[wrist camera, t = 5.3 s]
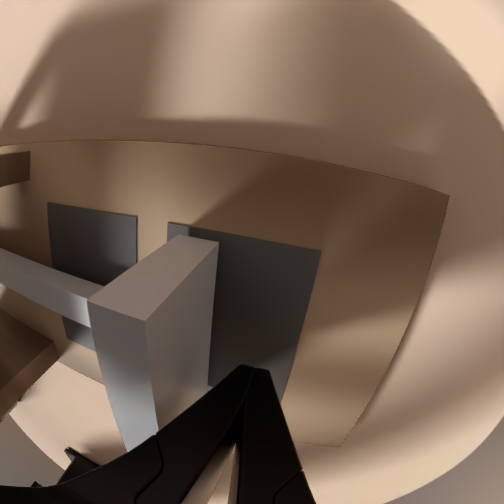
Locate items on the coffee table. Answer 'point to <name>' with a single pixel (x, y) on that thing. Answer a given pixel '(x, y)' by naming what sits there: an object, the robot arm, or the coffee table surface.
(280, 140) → the coffee table surface
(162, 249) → the grey flanged bar
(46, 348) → the walnut tunnel
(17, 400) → the supplement bottle
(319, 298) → the track bed
